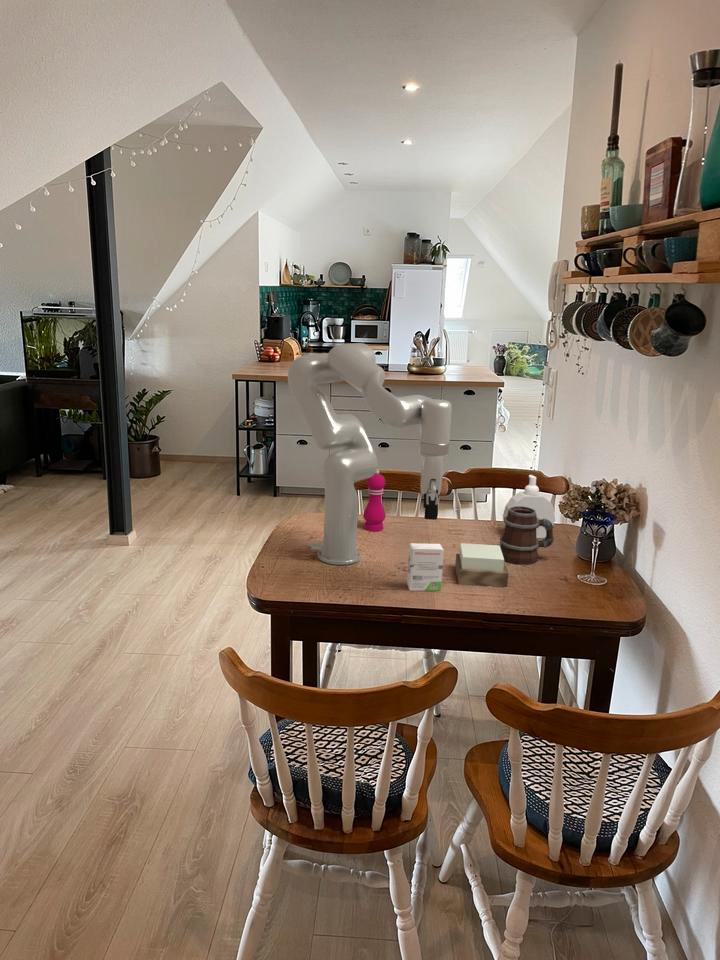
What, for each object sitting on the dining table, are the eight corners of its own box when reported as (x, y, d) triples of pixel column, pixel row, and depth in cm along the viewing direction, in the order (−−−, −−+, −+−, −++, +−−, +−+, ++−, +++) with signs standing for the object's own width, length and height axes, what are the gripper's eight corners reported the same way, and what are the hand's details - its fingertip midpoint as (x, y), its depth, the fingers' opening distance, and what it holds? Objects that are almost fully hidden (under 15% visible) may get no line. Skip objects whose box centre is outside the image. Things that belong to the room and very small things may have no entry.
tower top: (462, 569, 199) (463, 557, 198) (459, 554, 209) (460, 543, 208) (503, 571, 198) (504, 559, 197) (498, 557, 209) (499, 545, 208)
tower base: (458, 586, 199) (459, 570, 198) (454, 568, 211) (456, 553, 210) (506, 589, 198) (508, 573, 197) (500, 571, 211) (501, 556, 210)
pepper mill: (361, 530, 238) (363, 471, 233) (364, 524, 245) (367, 465, 239) (383, 533, 237) (386, 472, 231) (386, 526, 244) (389, 467, 238)
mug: (498, 562, 216) (503, 514, 212) (497, 548, 227) (502, 502, 223) (553, 568, 214) (559, 519, 210) (549, 553, 225) (555, 507, 221)
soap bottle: (547, 533, 244) (553, 475, 239) (553, 538, 239) (560, 479, 234) (500, 533, 242) (506, 474, 237) (505, 538, 237) (511, 478, 232)
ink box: (437, 584, 198) (441, 542, 195) (441, 591, 194) (444, 549, 191) (406, 583, 198) (409, 542, 195) (408, 591, 193) (411, 548, 190)
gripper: (418, 441, 194) (414, 503, 199) (420, 455, 178) (416, 523, 182) (446, 442, 194) (442, 504, 198) (451, 456, 177) (446, 524, 182)
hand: (429, 513), depth 190 cm, fingers open, 9 cm apart
